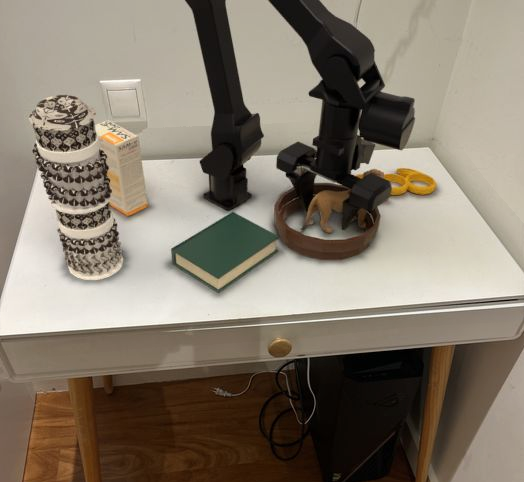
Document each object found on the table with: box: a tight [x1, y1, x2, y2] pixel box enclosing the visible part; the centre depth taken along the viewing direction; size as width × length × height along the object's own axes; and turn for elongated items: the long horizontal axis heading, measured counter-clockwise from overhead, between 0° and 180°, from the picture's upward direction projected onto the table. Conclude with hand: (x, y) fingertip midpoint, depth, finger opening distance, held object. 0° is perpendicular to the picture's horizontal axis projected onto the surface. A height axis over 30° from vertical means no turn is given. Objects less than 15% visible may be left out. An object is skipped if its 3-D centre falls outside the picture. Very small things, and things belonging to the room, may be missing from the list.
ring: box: [273, 182, 382, 261], centre depth 95 cm, size 17×17×4 cm
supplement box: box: [95, 119, 149, 217], centre depth 95 cm, size 8×5×13 cm, turn 47°
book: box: [170, 211, 280, 294], centre depth 89 cm, size 10×14×3 cm
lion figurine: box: [299, 168, 385, 234], centre depth 94 cm, size 15×5×9 cm, turn 110°
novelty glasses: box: [354, 167, 437, 202], centre depth 106 cm, size 17×2×10 cm
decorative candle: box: [28, 94, 124, 281], centre depth 79 cm, size 9×9×25 cm
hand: (325, 220), depth 95 cm, fingers open, 7 cm apart
